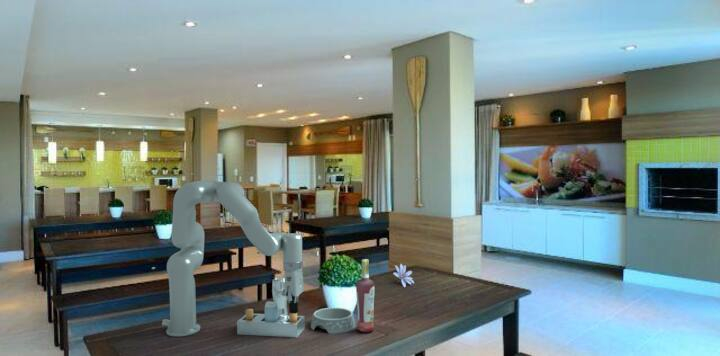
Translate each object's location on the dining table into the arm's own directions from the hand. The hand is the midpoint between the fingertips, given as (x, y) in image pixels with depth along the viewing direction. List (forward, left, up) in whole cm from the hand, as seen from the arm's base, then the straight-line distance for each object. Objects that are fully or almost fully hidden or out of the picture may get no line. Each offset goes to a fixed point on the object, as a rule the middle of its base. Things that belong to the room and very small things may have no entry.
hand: (293, 312), depth 184 cm
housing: (-9, 0, -8) cm, 12 cm away
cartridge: (-9, 0, -8) cm, 12 cm away
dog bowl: (+13, +10, -8) cm, 19 cm away
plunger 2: (0, 0, -5) cm, 5 cm away
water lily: (+37, +77, -8) cm, 86 cm away
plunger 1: (-18, 0, -5) cm, 19 cm away
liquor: (+27, +6, -8) cm, 29 cm away
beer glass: (-13, +21, -8) cm, 26 cm away
